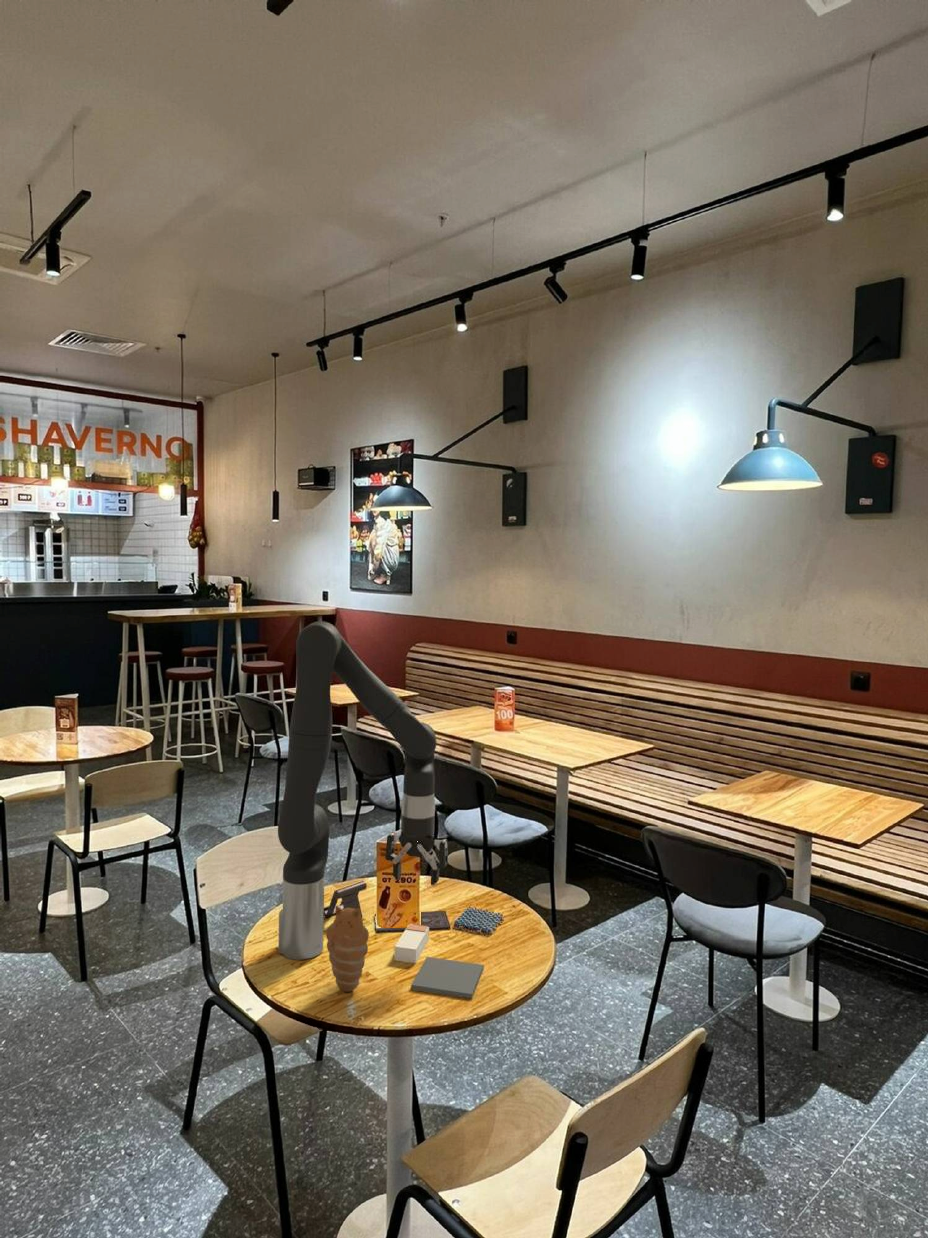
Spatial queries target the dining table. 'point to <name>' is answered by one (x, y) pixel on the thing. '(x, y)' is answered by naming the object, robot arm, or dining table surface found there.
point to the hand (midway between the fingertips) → (415, 881)
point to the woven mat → (478, 921)
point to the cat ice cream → (347, 947)
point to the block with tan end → (411, 943)
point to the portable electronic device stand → (345, 898)
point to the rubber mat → (448, 977)
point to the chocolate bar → (423, 922)
